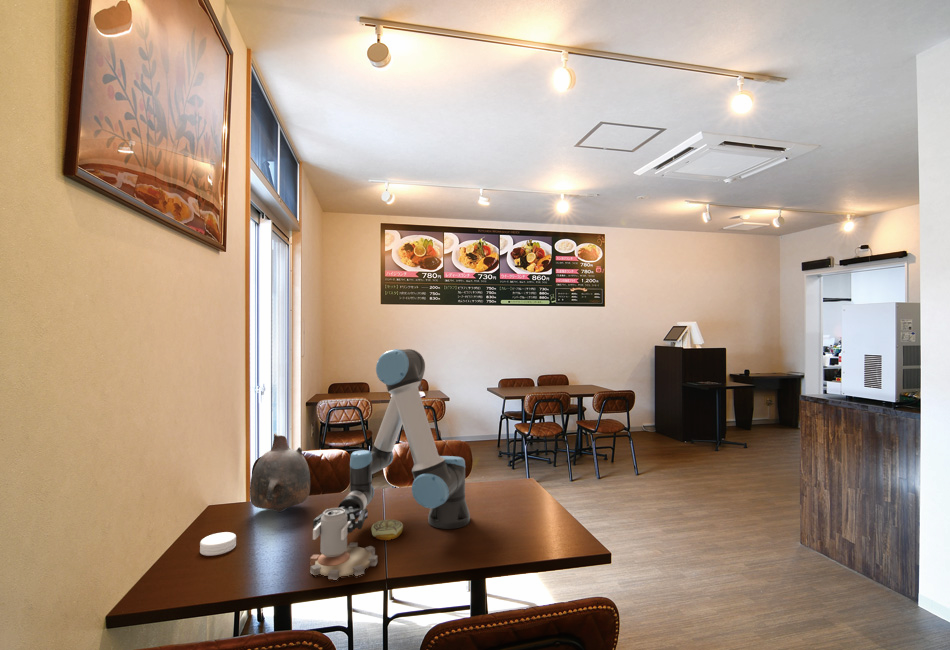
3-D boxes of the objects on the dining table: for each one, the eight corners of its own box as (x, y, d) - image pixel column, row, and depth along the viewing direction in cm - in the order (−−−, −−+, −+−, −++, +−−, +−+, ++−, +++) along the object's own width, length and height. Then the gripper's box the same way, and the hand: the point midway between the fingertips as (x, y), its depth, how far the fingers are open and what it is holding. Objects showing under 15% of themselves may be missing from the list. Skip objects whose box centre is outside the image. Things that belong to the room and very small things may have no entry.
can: (323, 547, 137) (324, 506, 137) (349, 546, 138) (349, 505, 138) (317, 558, 129) (317, 516, 130) (344, 557, 130) (344, 515, 131)
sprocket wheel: (384, 549, 143) (384, 542, 143) (367, 581, 123) (367, 573, 123) (323, 548, 143) (323, 542, 143) (297, 580, 124) (297, 572, 124)
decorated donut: (368, 542, 148) (368, 530, 148) (373, 529, 159) (373, 518, 159) (401, 541, 149) (401, 529, 149) (403, 528, 160) (403, 517, 160)
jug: (317, 515, 171) (318, 434, 173) (255, 528, 159) (256, 441, 161) (301, 497, 192) (302, 425, 193) (244, 508, 179) (246, 431, 181)
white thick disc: (202, 545, 146) (202, 534, 146) (237, 540, 150) (237, 529, 150) (197, 559, 137) (197, 547, 137) (234, 553, 141) (234, 541, 141)
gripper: (382, 518, 151) (363, 548, 128) (322, 517, 152) (292, 548, 129) (382, 495, 152) (363, 521, 129) (322, 494, 152) (293, 521, 129)
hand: (328, 534), depth 129 cm, fingers closed on can, 7 cm apart
